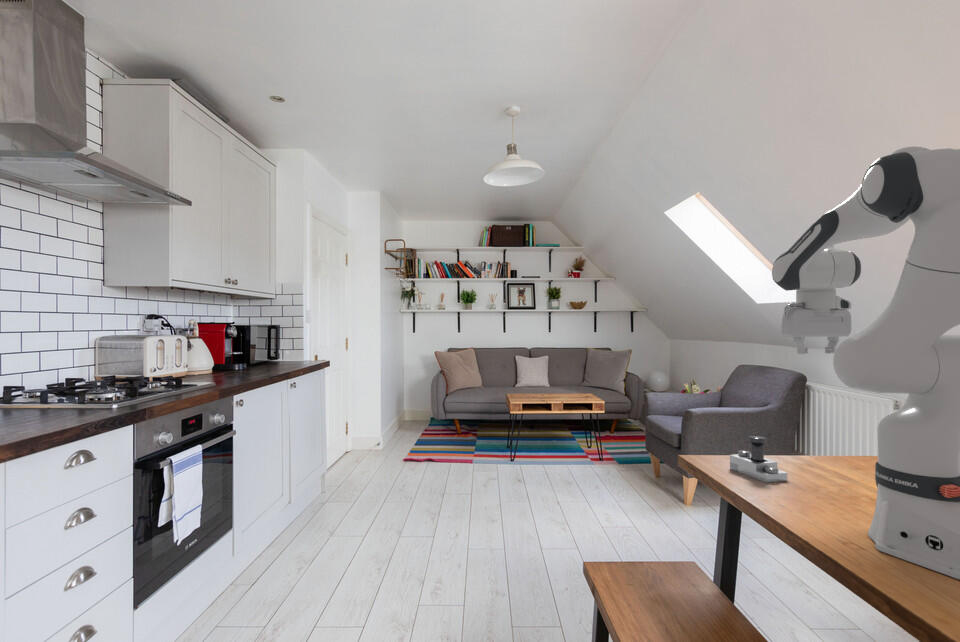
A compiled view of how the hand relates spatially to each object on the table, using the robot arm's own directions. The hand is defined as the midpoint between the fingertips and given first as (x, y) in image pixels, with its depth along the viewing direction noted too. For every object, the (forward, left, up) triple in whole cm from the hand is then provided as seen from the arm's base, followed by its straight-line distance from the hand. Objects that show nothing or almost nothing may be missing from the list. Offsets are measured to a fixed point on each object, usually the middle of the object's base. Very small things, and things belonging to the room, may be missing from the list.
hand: (816, 353), depth 125 cm
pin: (+5, +15, -33) cm, 37 cm away
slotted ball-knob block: (+5, +15, -33) cm, 37 cm away
